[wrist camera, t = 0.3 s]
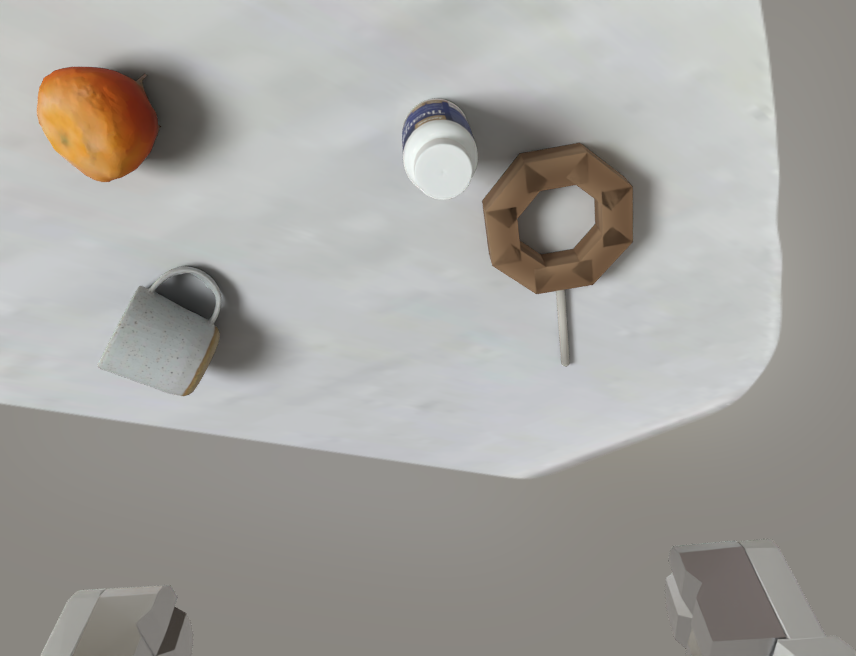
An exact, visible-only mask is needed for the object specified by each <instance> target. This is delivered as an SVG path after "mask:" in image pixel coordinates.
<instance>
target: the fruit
mask: <svg viewBox="0 0 856 656" xmlns="http://www.w3.org/2000/svg"><path fill="white" fill-rule="evenodd" d="M146 76H147V75H145V74H144V75H143V76H141V77H140V78H139V79H138V80H137V81H135V80H133V79H131V78H129V77H128V76H126V75H123V74H121V73H119V72H117V71H114V70H109V69H104V68H96V67H68V68H62V69H59V70H55V71H53V72H52V73H51V74H50V75H48V76H46V77H45V78H44V79H43V81H42V84H41V86H40V88H39V93H38V105H37V116H38V120H39V124H40V125H41V127H42V129H43V131H44V133H45V135H46V137H47V138H48V140H49V141H50V143H51V144H52V146H53V148H54V149H55V150H56V151H57V152H58V153H59V154H60V155H61V156H62V157H63V158H65V159H66V160H67V161H68V162H70V163H71V164H72V165H73V166H75V167H76V168H77V169H78V170H80V171H81V172H82V173H83V174H85V175H86V176H88V177H90V178H92V179H94V180H97V181H101V182H110V181H111V180H114V179H117V178H121V177H123V176H125V175H127V174H129V173H131V172H132V171H134V170H135V169H137V168H138V167H139V165H140V164H141V163H142V162H143V161H144V160H145V158H146V157H147V156H148V155H149V153H150V152H151V150H152V147H153V144H154V141H155V139H156V137H157V135H158V131H159V128H160V127H161V126H159V125H158V119H157V115H156V112H155V111H154V109H153V107H152V106H151V104H150V102H149V100H148V98H147V95H146V93H145V91H144V87H143V84H142V81H143V79H144V78H145V77H146Z"/></svg>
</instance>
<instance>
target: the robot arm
mask: <svg viewBox="0 0 856 656" xmlns="http://www.w3.org/2000/svg"><path fill="white" fill-rule="evenodd" d="M668 561H669V564H670V567H671V570H672V574H671V575H670V576H669V577H667V578H666V584H665V599H666V609H667V614H668V618H669V622H670V626H671V628H672V631H673V635H674V638H675V640H676V641H678V642H679V643H680V644H681V645H682V646H683V647H684V648H685V649H687V650H686V656H856V650H855V649H854V648H852V647H851V646H850V645H848V644H847V643H846V642H844V641H843V640H842V639H840V638H839V637H838V636H826V634H825V633H824V631H823V629H822V627H821V625H820V623H819V622H818V619H817V618H816V616H815V614H814V612H813V610H812V608H811V606H810V604H809V603H808V601H807V599H806V597H805V595H804V593H803V592H802V590H801V588H800V586H799V584H798V582H797V580H796V578H795V577H794V575H793V573H792V571H791V569H790V567H789V565H788V563H787V562H786V560H785V558H784V556H783V554H782V552H781V550H780V549H779V547H778V545H777V544H776V543H775V542H774V541H773V540H771V539H761V540H760V539H759V540H749V541H739V542H736V541H725V542H715V543H703V544H692V545H682V546H673V547H672V549H671V550H670V553H669V560H668ZM177 598H178V597H177V595H176V593H175V592H174V590H173V588H172V587H171V585H162V586H145V587H127V588H106V589H92V590H78V591H77V592H76V593H75V594H74V595H73V596H72V597H71V598H70V599H69V600H68V601H67V603H66V605H65V608H64V609H63V611H62V613H61V615H60V617H59V620H58V622H57V623H56V626H55V628H54V629H53V632H52V634H51V636H50V637H49V640H48V641H47V643H46V646H45V647H44V650H43V652H42V654H41V656H191V655H192V646H193V631H192V626H191V622H190V620H189V618H188V616H187V614H186V613H185V612H183V611H182V610H180V609H178V608H176V607H175V604H176V601H177Z"/></svg>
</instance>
